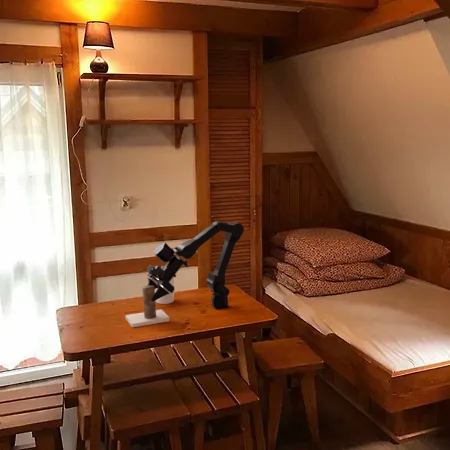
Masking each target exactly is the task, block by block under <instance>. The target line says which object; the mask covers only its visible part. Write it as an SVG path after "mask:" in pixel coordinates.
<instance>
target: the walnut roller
mask: <svg viewBox="0 0 450 450" xmlns="http://www.w3.org/2000/svg"><path fill="white" fill-rule="evenodd" d="M147 285H148V284H147ZM147 285H144V286H142V287H141V288H142V299H143V300H142V303H143V312H144V318H146V319H152V318H155V317H156V310H157V307H156V300H155V301H153V302H152V301H151V299H152V297H153V295H154V294H155V288H154V286H152V285H148V286H147Z"/></svg>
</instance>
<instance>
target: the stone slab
mask: <svg viewBox="0 0 450 450" xmlns="http://www.w3.org/2000/svg"><path fill="white" fill-rule="evenodd" d="M125 320H126V321H127V322H128V324H129V326H130V327H131V328H137V327H143V326H144V327H145V326H149V325H155V324H160V323H166V322H171V319H170V316H169V315H167V313H165V311H164V310H163V309H156V317H155V318H152V319H146V318H144V311H142V312H138V313H130V314H125Z"/></svg>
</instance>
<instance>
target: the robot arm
mask: <svg viewBox="0 0 450 450" xmlns="http://www.w3.org/2000/svg"><path fill="white" fill-rule="evenodd" d="M244 231H245V227H244V225H242V224H241V223H238V222H236V221H230V222H224V221H219V220H214V221H213V222H212V223H211V224H210V225H209V226H208V227H206V228H205V229H204V230H202V231H201V232H200V233H198V234H197V235H196V236H195V237H193V238H191V239H188V240H186V241H183V242H181V243H180V244H178V246H175V247H172V248H171V246H169V244H168V243H166V242H162V244H160V245H159V246H156V248H155V249H154V251H153V255H154V256H156V258H157V259H159V260H160V261H161V262H163V263H166V264H165V265H161V266H158V265H156V266H155V265H152V264H148V267H147V269H146V272H147V273H148V274H147V275H146V276H147V283H148V284H147V285H146V286H148V285H152V286H154V288H155V289H156V288H158V289H157V291H156V292H155V294H154V295H153V297H152V299H151V301H152V302H153V301H155V302H156V300H157V299H159V298H161V297H163V296H165V295H167V294H170V293H173V291H174V292H175V285H174V286H173V285H171V283H169V282H170V281H171V279H172V278H173V277H174V278H176V277H177V273H178V272H179V270H180V269H181V268H182V267H183V266H184V267H186V268H189V267H188V260H187V259H191V258H193V256H195V255H196V253H197V252H198V251H199V248H200V247H201V246H203V245H204V244H205V243H206V242H208V241H209V240H210V239H211V238H213V237H214V236H215V235H217V234H218V233H220V232H224V237H225V238H224V239H225V240H224V244H223V246H222V249H221V251H220V255H219V258H218V260H217V264H216V266H215V269H214V271H213V272H209V273H208V276H207V279H206V286H207V288H208V289H209V290H210V291H211V293H212V296H211V304H210V305H211V306H212V307H213V308H214V309H215V310H222V309H228V308H230V307H231V306H230V305H229V295H230V291H231V290H230V289H229V288H228V287H227V286H225V285H226V272H227V270H228V266H229V264H230V261H231V258H232V255H233V251H234V249H235V245H236V244H237V243H238V241H239V240H240V239H241V238H242V236H243V235H244V234H243V233H244ZM160 285H161V286H160ZM169 292H170V293H169Z"/></svg>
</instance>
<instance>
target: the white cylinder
mask: <svg viewBox="0 0 450 450" xmlns="http://www.w3.org/2000/svg"><path fill="white" fill-rule="evenodd" d="M169 283H171V285H173V286H174V287H175V277H173V278H172V279H171V281H170V282H169ZM160 286H161V285H160ZM157 289H158V288H156V289H155V292H156V291H157ZM169 293H170V292H169ZM174 301H175V290H174V291H173V293H170V294H167V295H165V296H163V297H161V298H159V299H157V300H155V303H157V304H158V305H159V304H161V305H168V304H171V303H174Z"/></svg>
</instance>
